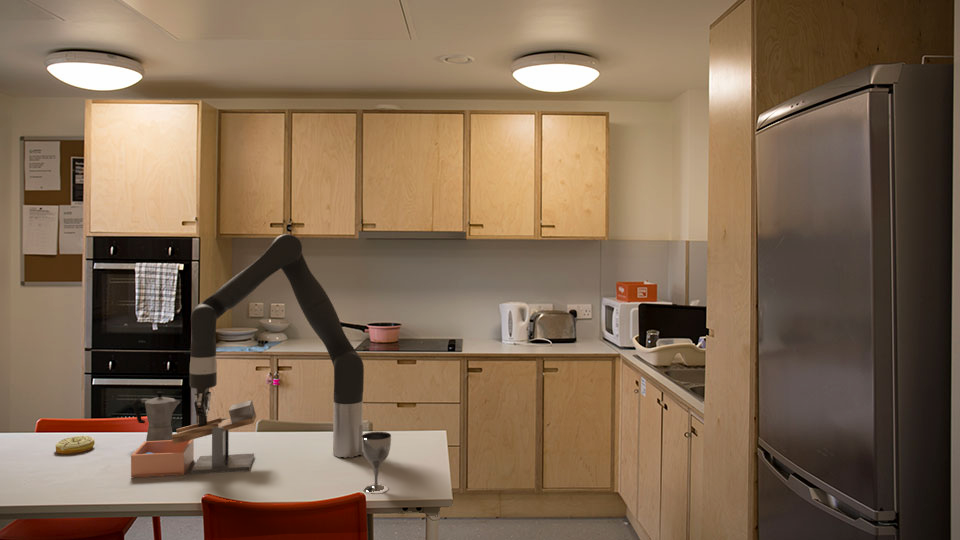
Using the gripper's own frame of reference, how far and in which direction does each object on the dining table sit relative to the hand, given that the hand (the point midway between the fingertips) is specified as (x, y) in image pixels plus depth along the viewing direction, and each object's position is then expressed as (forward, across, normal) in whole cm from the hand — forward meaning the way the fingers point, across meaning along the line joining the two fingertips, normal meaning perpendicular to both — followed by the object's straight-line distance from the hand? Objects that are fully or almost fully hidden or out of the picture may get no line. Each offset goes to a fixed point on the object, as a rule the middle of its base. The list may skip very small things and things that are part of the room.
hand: (202, 427), depth 199 cm
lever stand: (+12, 0, -5) cm, 13 cm away
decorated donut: (+12, +24, +43) cm, 51 cm away
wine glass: (+12, -28, -50) cm, 59 cm away
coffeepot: (+12, +25, +19) cm, 34 cm away
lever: (+1, 0, -4) cm, 4 cm away
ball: (+9, 0, +15) cm, 17 cm away
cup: (+12, 0, +11) cm, 16 cm away
